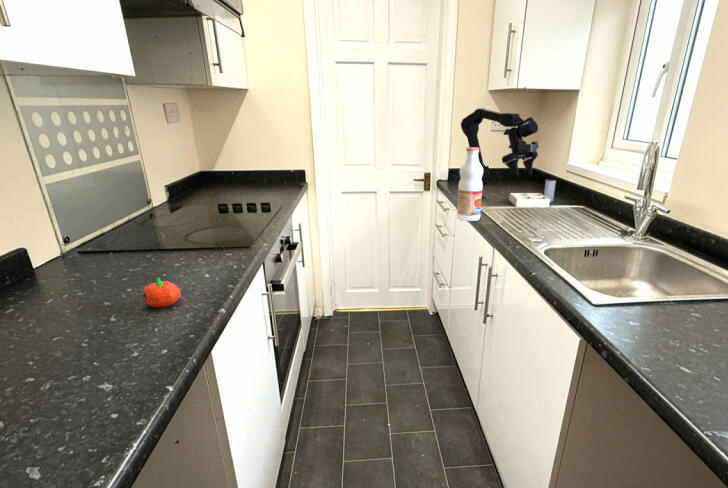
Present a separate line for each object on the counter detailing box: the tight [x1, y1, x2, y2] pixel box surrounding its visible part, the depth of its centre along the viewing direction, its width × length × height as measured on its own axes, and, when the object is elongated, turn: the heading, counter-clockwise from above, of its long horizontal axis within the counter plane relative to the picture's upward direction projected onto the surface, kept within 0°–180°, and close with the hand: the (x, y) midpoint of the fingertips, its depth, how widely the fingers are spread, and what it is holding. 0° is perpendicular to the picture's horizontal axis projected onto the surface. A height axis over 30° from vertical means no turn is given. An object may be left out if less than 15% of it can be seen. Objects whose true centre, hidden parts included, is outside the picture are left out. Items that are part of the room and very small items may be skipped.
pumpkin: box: [142, 277, 182, 308], centre depth 93 cm, size 7×8×6 cm
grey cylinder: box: [543, 178, 557, 203], centre depth 198 cm, size 4×4×10 cm
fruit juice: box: [456, 146, 483, 222], centre depth 163 cm, size 9×9×28 cm
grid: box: [508, 192, 551, 208], centre depth 195 cm, size 15×15×4 cm
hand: (524, 175), depth 184 cm, fingers open, 9 cm apart
